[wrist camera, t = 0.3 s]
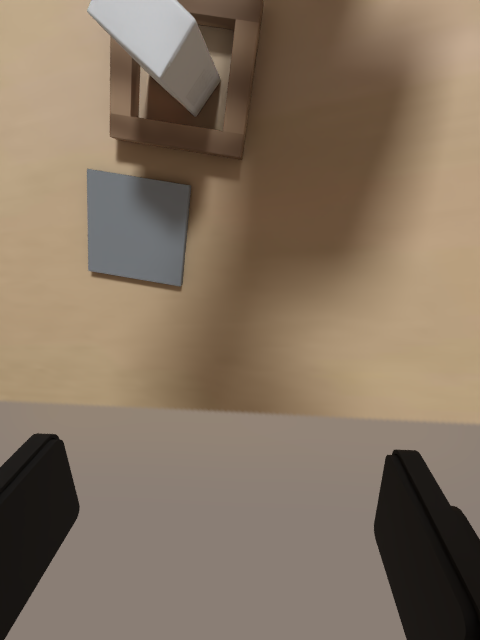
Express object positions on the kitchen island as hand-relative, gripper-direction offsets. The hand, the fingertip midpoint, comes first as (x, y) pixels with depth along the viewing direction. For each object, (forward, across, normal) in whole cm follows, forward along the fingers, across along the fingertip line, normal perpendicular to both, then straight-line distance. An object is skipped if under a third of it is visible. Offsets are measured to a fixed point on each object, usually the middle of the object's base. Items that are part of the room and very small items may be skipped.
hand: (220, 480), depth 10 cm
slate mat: (+30, +13, -4) cm, 33 cm away
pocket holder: (+30, +7, -19) cm, 36 cm away
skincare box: (+30, +7, -19) cm, 36 cm away
